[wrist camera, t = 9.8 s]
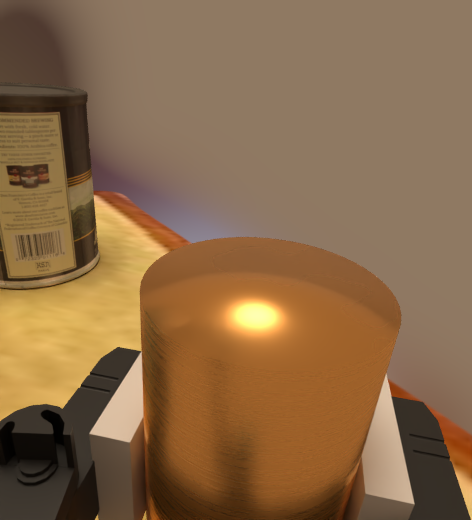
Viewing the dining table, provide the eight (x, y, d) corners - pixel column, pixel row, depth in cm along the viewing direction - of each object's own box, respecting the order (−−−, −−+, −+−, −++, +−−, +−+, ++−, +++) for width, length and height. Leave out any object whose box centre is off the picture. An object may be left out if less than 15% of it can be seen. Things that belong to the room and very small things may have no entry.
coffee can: (56, 229, 42) (38, 81, 36) (123, 260, 37) (115, 93, 31) (-55, 261, 35) (-102, 79, 29) (11, 305, 30) (-28, 95, 24)
